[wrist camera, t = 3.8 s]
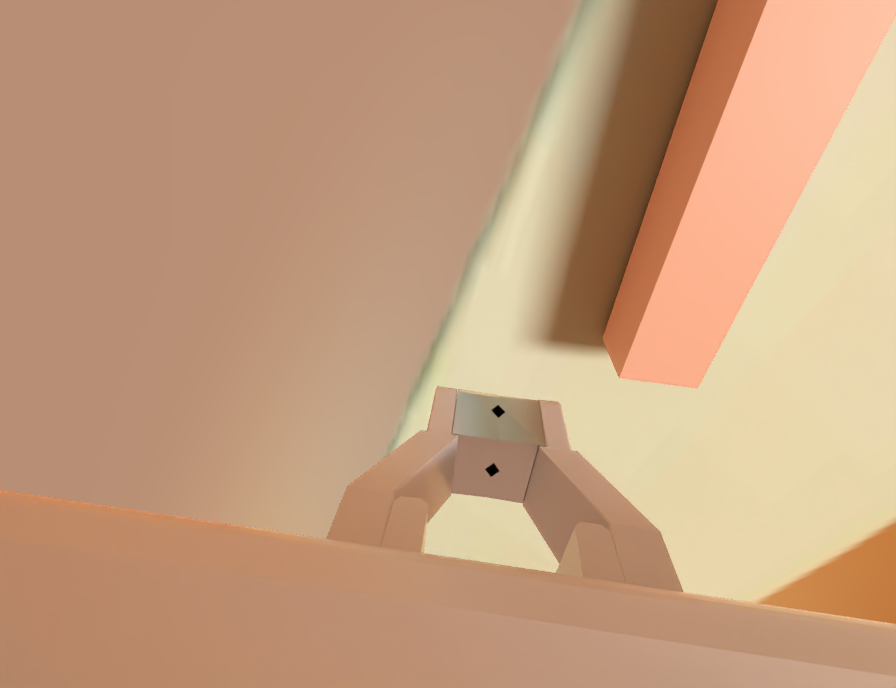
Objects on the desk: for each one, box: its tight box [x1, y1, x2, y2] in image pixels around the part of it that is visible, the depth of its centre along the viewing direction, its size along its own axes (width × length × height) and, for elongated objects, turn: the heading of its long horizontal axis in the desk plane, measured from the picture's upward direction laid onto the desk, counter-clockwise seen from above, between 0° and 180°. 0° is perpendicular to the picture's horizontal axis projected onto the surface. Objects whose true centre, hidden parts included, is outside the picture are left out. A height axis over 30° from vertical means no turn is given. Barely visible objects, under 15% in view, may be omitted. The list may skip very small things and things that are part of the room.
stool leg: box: [602, 0, 896, 388], centre depth 15 cm, size 18×4×4 cm, turn 175°
